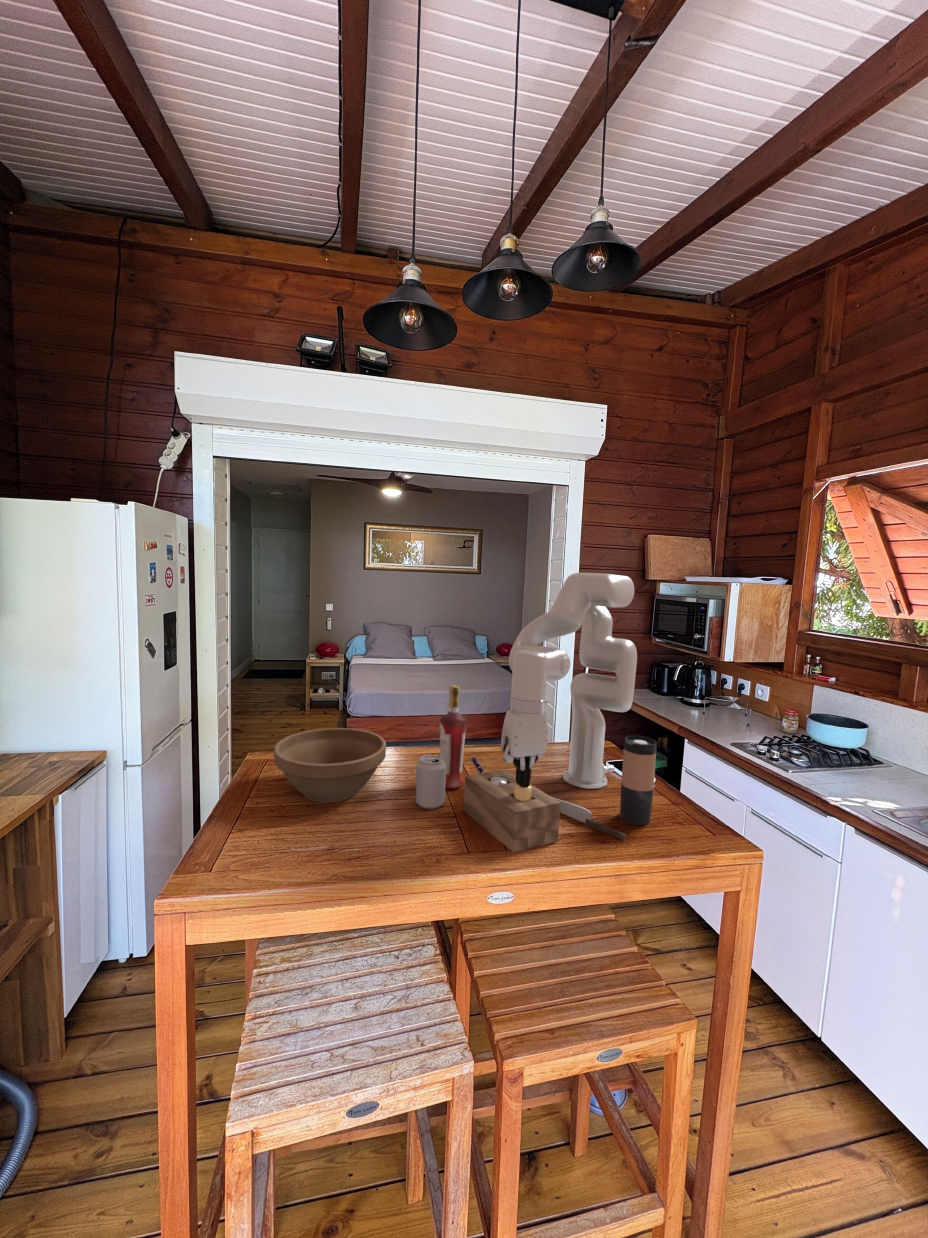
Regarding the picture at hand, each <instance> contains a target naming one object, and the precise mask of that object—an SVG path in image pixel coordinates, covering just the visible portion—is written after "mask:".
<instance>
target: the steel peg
mask: <svg viewBox="0 0 928 1238" xmlns="http://www.w3.org/2000/svg"><path fill="white" fill-rule="evenodd" d="M491 783H493V784H494V785H496V786H497V785H503V784H507V780H506V779H505V778H502V777H493V778H491Z"/></svg>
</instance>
